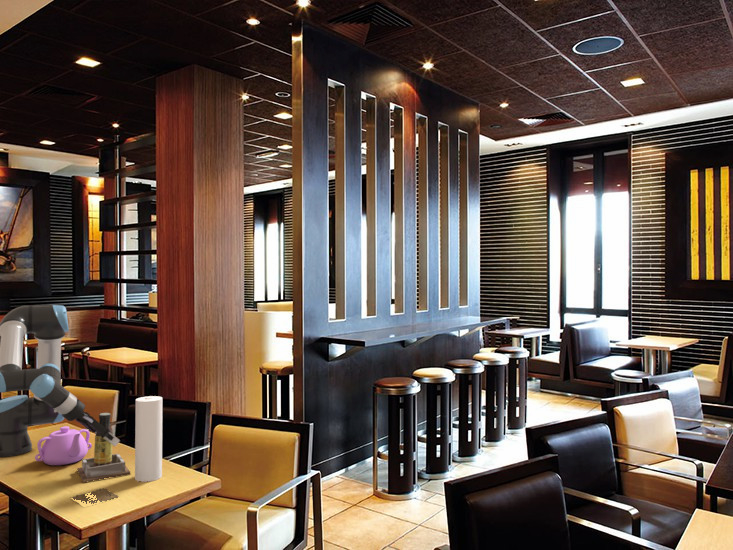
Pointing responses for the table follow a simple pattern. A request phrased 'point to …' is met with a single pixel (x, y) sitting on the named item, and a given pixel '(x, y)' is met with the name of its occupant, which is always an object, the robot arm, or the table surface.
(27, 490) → the table surface
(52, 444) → the teapot
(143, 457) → the cylinder container
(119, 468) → the grey square tray
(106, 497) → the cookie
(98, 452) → the sauce bottle
